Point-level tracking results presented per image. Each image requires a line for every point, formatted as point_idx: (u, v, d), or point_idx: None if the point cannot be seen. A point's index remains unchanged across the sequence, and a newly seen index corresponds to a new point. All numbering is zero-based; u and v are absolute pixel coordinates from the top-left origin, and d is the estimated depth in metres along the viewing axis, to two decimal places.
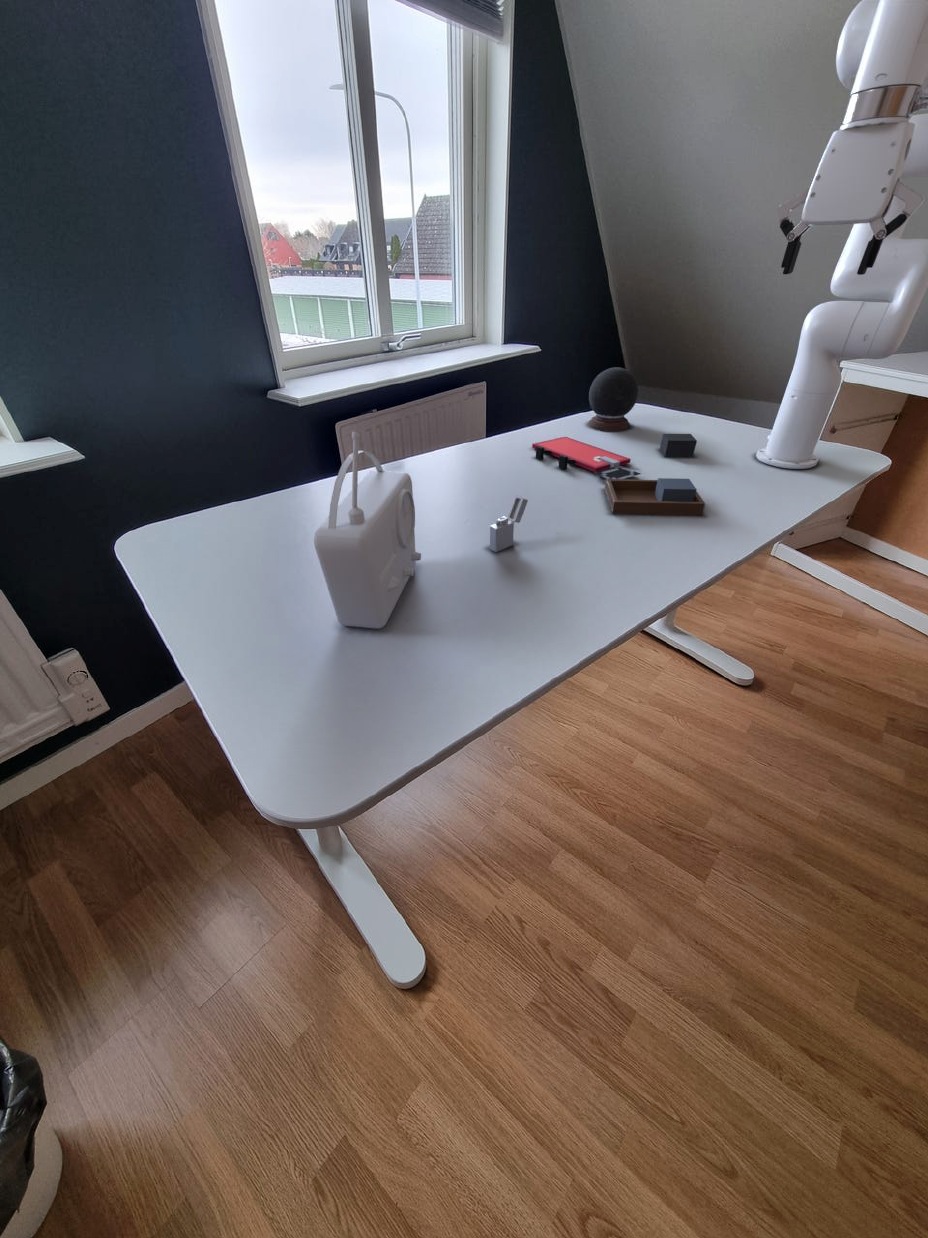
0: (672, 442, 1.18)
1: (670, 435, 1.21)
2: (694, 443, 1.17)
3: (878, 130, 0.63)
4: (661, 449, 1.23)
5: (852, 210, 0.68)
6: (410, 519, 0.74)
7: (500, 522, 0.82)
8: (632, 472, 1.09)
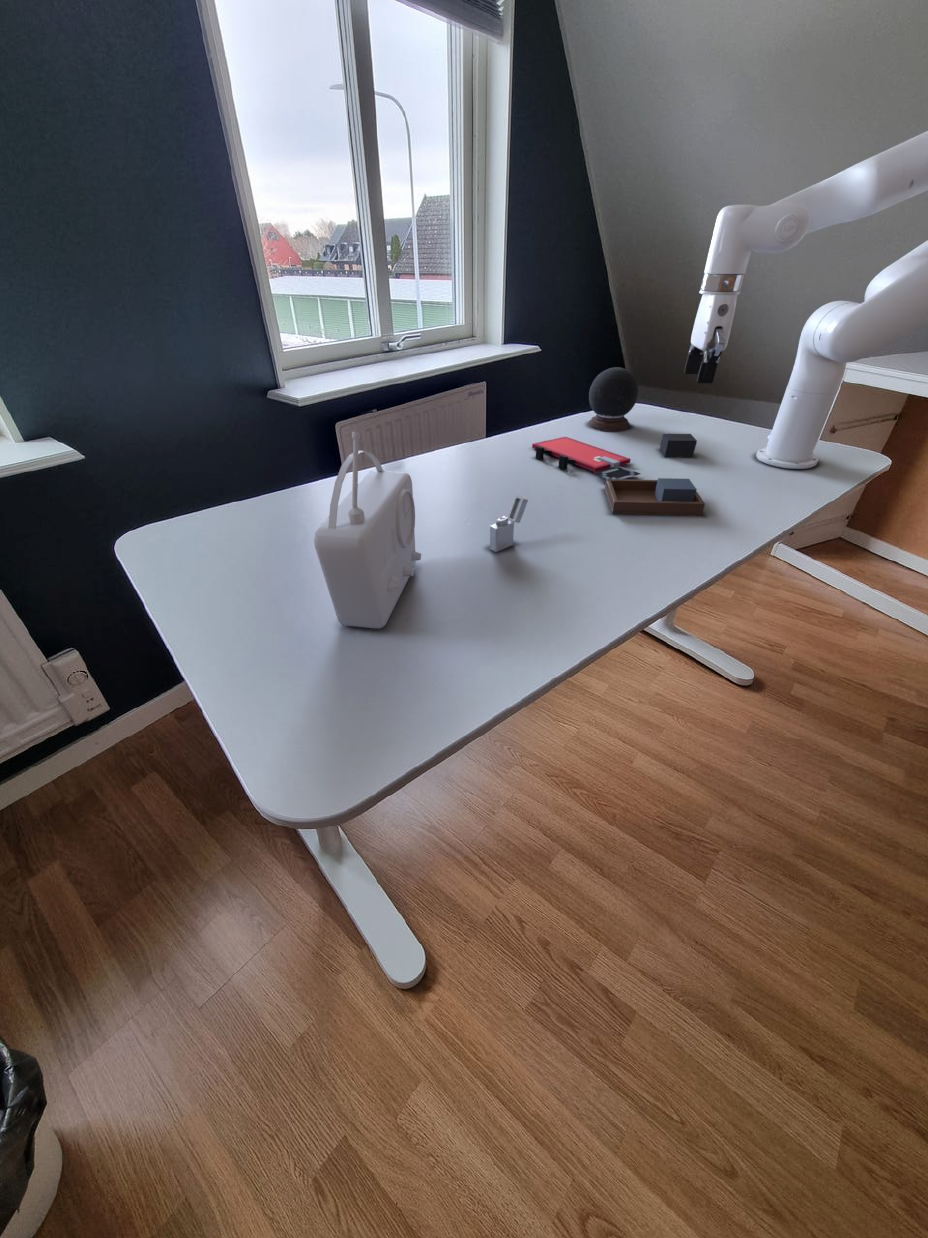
0: (672, 442, 1.18)
1: (670, 435, 1.21)
2: (694, 443, 1.17)
3: (707, 297, 1.00)
4: (661, 449, 1.23)
5: (698, 341, 1.04)
6: (410, 519, 0.74)
7: (500, 522, 0.82)
8: (632, 472, 1.09)
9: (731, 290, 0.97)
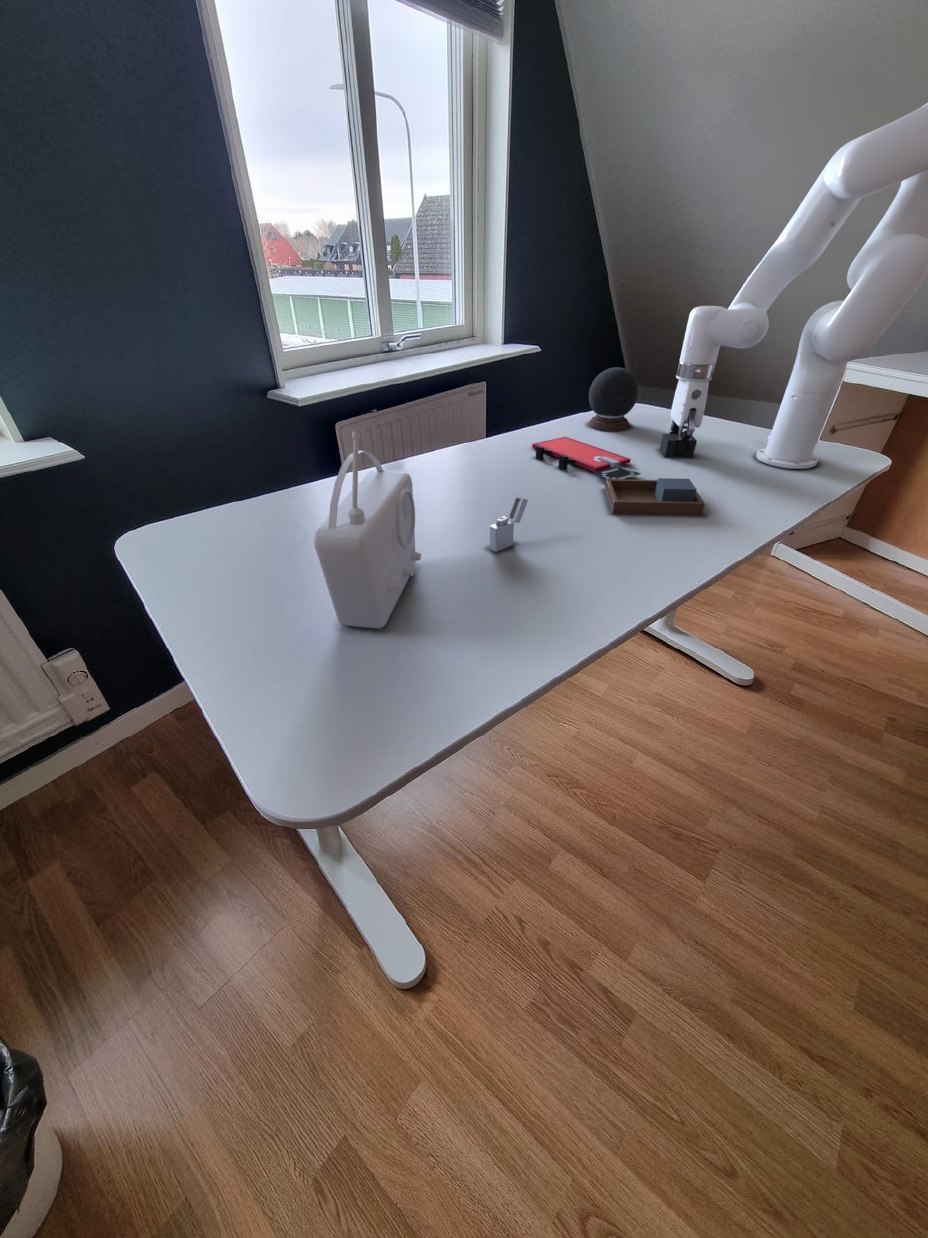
0: (672, 442, 1.18)
1: (670, 435, 1.21)
2: (694, 443, 1.17)
3: (682, 381, 1.11)
4: (661, 449, 1.23)
5: (676, 418, 1.16)
6: (410, 519, 0.74)
7: (500, 522, 0.82)
8: (632, 472, 1.09)
9: (703, 378, 1.08)
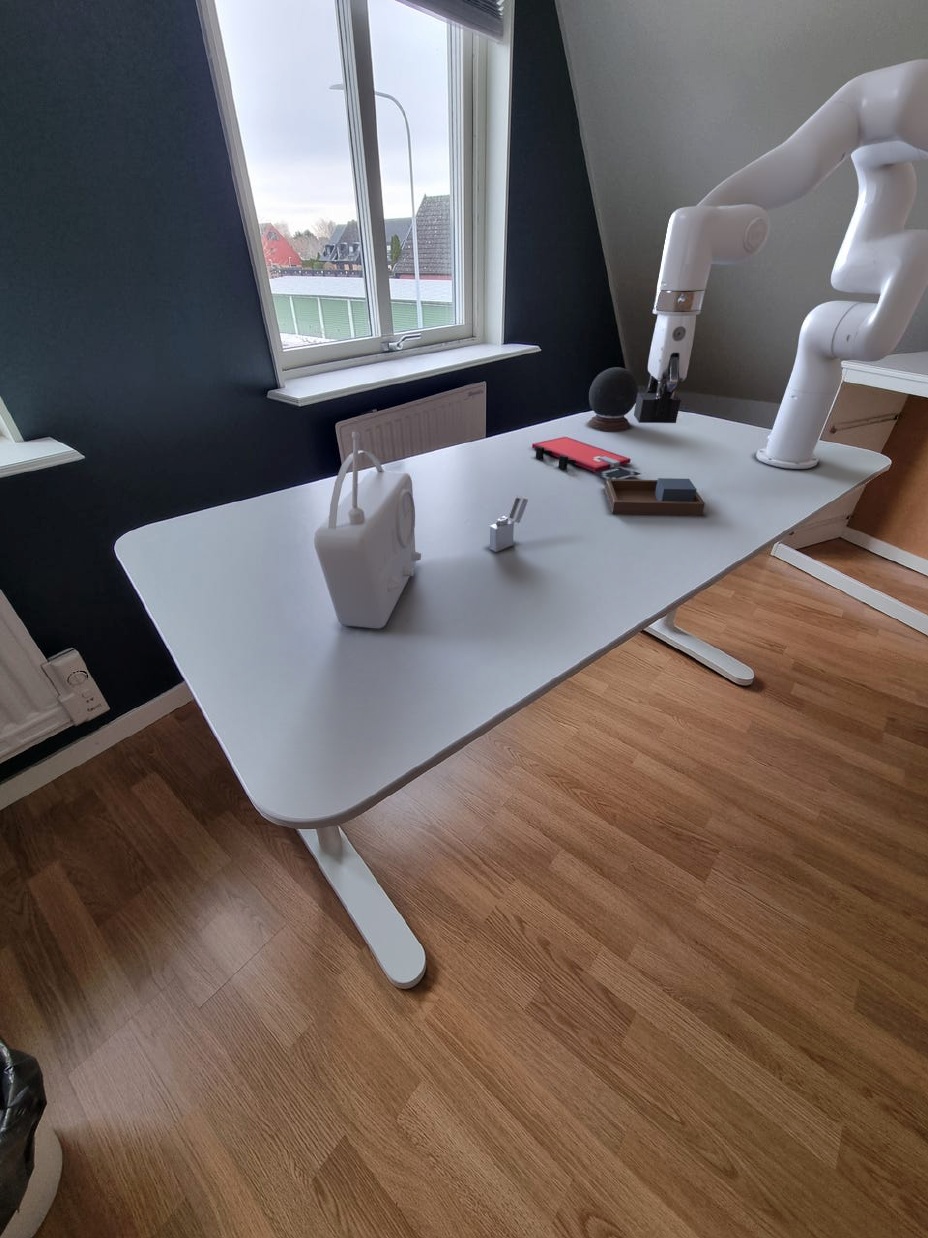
0: (648, 402, 0.89)
1: (646, 394, 0.92)
2: (677, 403, 0.89)
3: (661, 317, 0.82)
4: (635, 413, 0.94)
5: (653, 370, 0.87)
6: (410, 519, 0.74)
7: (500, 522, 0.82)
8: (632, 472, 1.09)
9: (688, 310, 0.79)
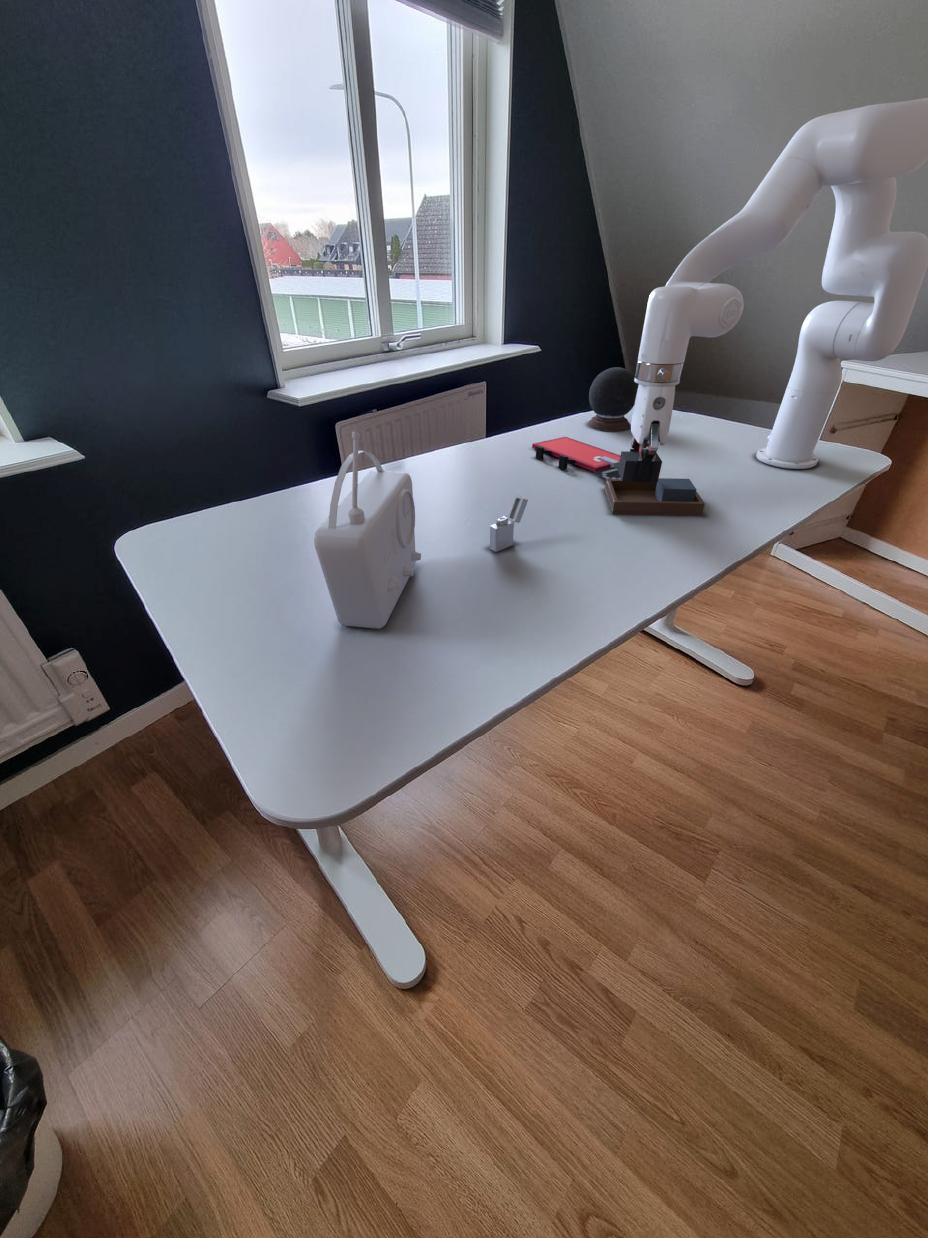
0: (630, 463, 0.92)
1: (630, 454, 0.95)
2: (659, 465, 0.92)
3: (642, 386, 0.86)
4: (619, 471, 0.97)
5: (635, 433, 0.90)
6: (410, 519, 0.74)
7: (500, 522, 0.82)
8: None
9: (668, 381, 0.83)
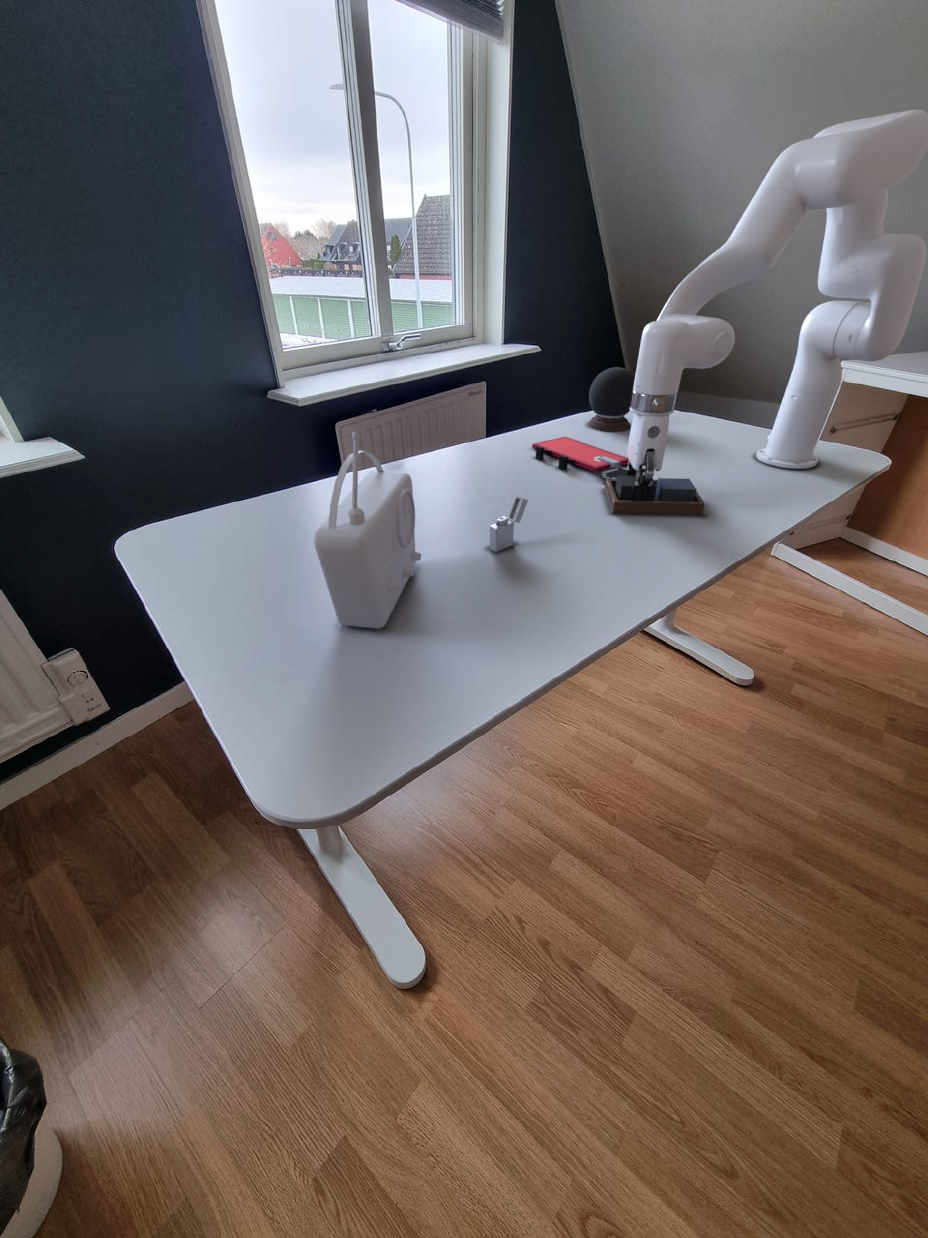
0: (626, 487, 0.95)
1: (625, 478, 0.98)
2: (654, 489, 0.95)
3: (637, 415, 0.88)
4: None
5: (631, 459, 0.93)
6: (410, 519, 0.74)
7: (500, 522, 0.82)
8: None
9: (662, 411, 0.85)
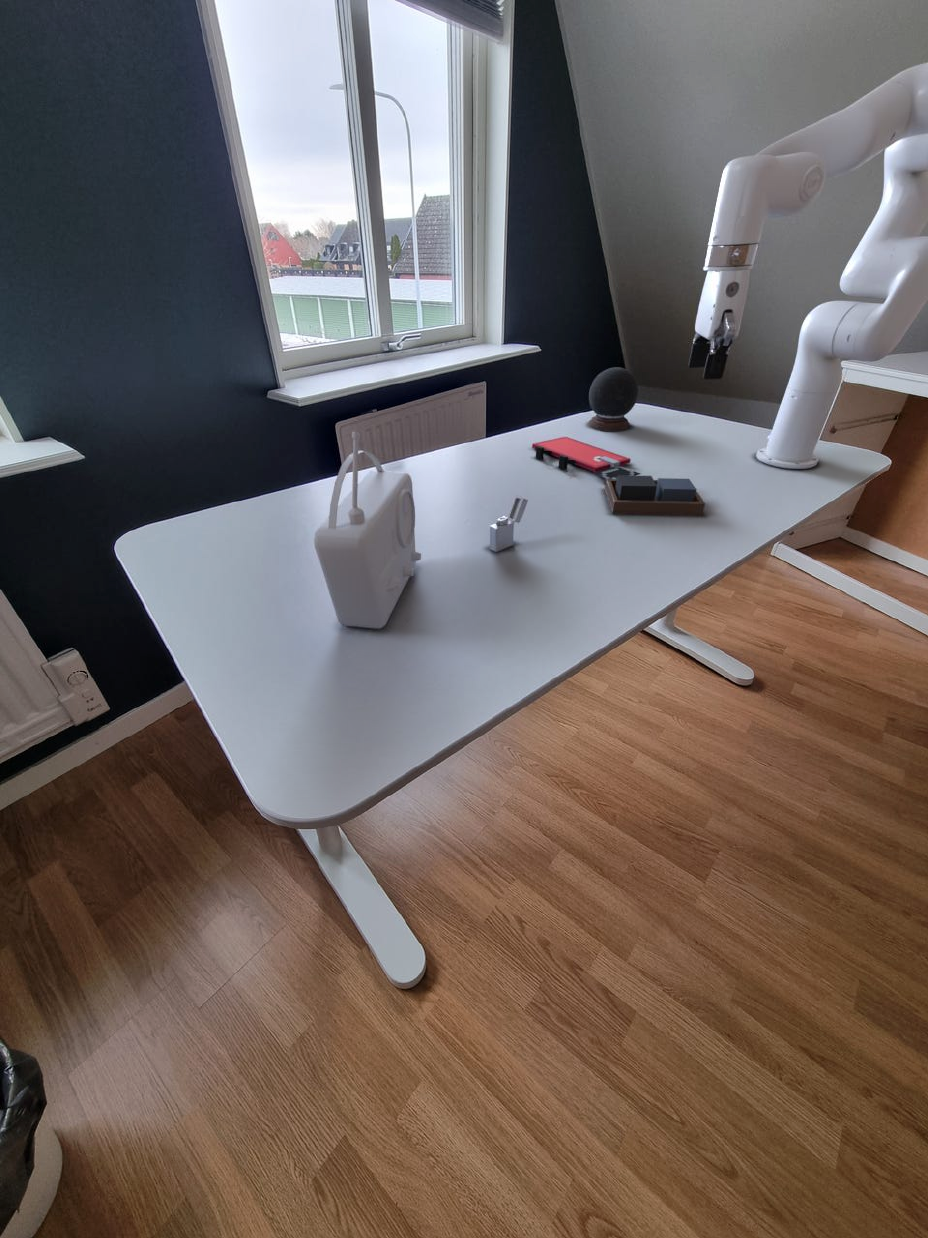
0: (626, 487, 0.95)
1: (625, 478, 0.98)
2: (654, 489, 0.95)
3: (712, 274, 0.82)
4: None
5: (703, 329, 0.86)
6: (410, 519, 0.74)
7: (500, 522, 0.82)
8: (632, 472, 1.09)
9: (742, 264, 0.79)
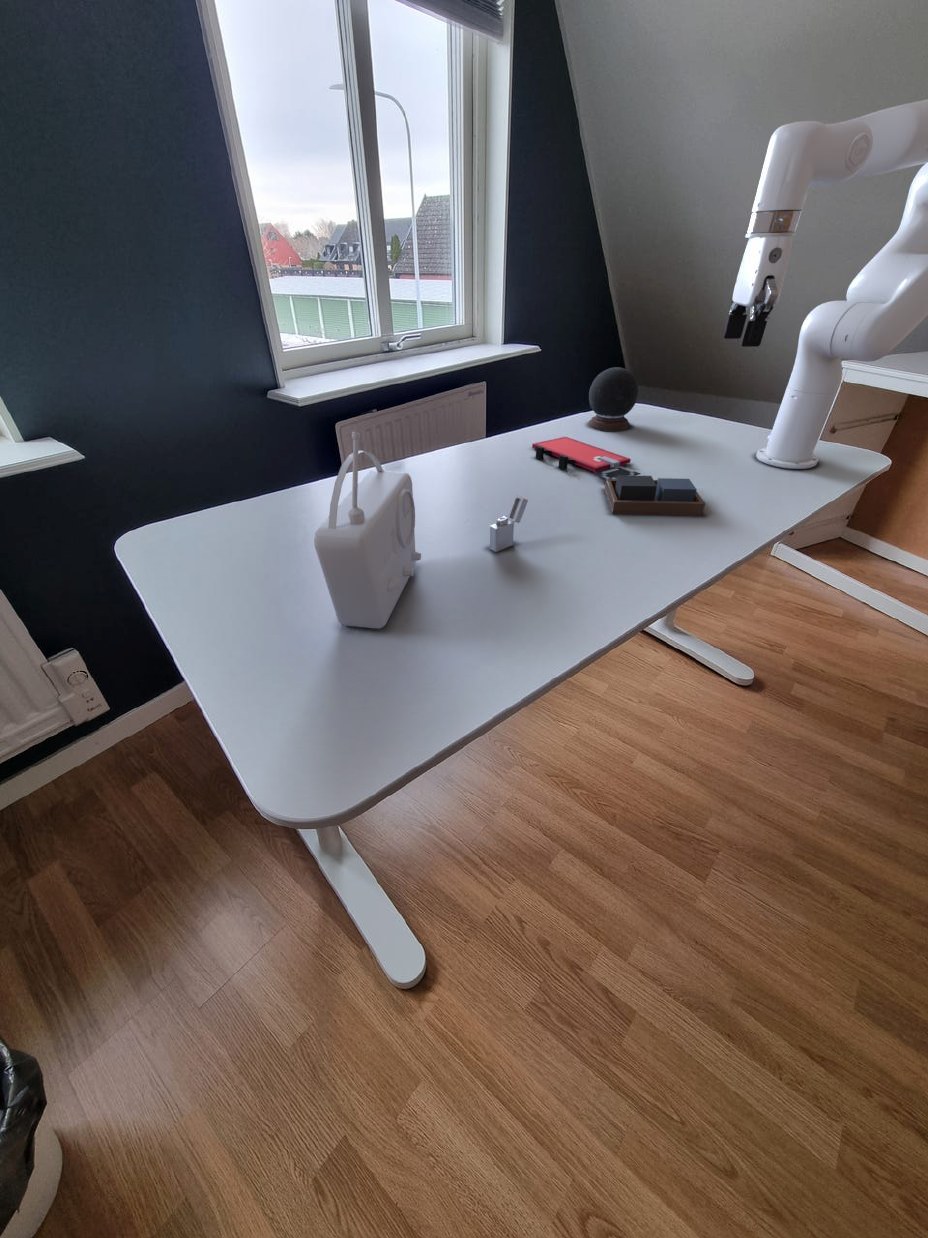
0: (626, 487, 0.95)
1: (625, 478, 0.98)
2: (654, 489, 0.95)
3: (755, 241, 0.83)
4: None
5: (743, 296, 0.88)
6: (410, 519, 0.74)
7: (500, 522, 0.82)
8: (632, 472, 1.09)
9: (786, 230, 0.80)
